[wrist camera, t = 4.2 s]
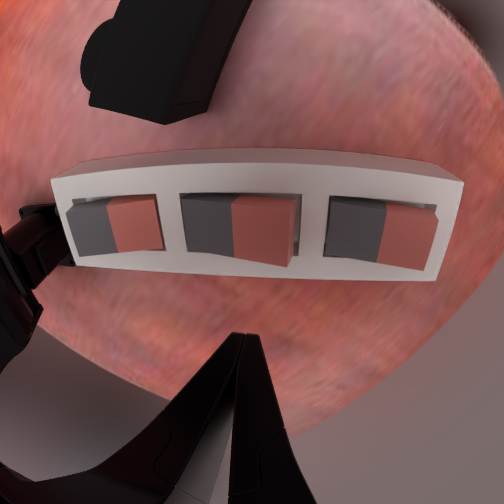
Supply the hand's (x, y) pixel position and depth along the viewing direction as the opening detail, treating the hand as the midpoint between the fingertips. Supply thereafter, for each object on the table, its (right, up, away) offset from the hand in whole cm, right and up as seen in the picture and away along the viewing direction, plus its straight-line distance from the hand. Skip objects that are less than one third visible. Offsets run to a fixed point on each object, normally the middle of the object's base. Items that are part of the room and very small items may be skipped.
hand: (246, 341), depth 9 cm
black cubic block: (-3, +17, +5) cm, 18 cm away
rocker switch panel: (-2, +6, +11) cm, 13 cm away
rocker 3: (+8, +4, +7) cm, 11 cm away
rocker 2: (0, +4, +7) cm, 9 cm away
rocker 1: (-8, +5, +8) cm, 13 cm away
